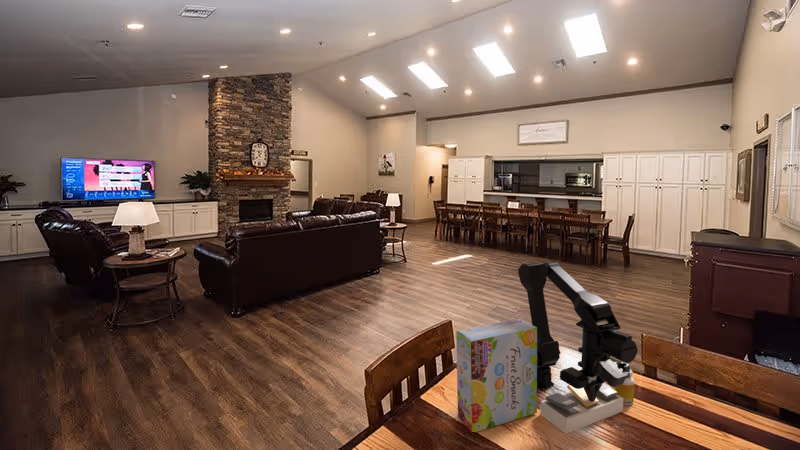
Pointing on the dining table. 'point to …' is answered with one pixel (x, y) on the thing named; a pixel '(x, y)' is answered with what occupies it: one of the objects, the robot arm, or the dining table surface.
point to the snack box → (496, 373)
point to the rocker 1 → (562, 401)
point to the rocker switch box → (580, 412)
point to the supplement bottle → (626, 390)
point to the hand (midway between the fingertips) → (591, 400)
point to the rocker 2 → (607, 391)
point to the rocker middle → (582, 396)
